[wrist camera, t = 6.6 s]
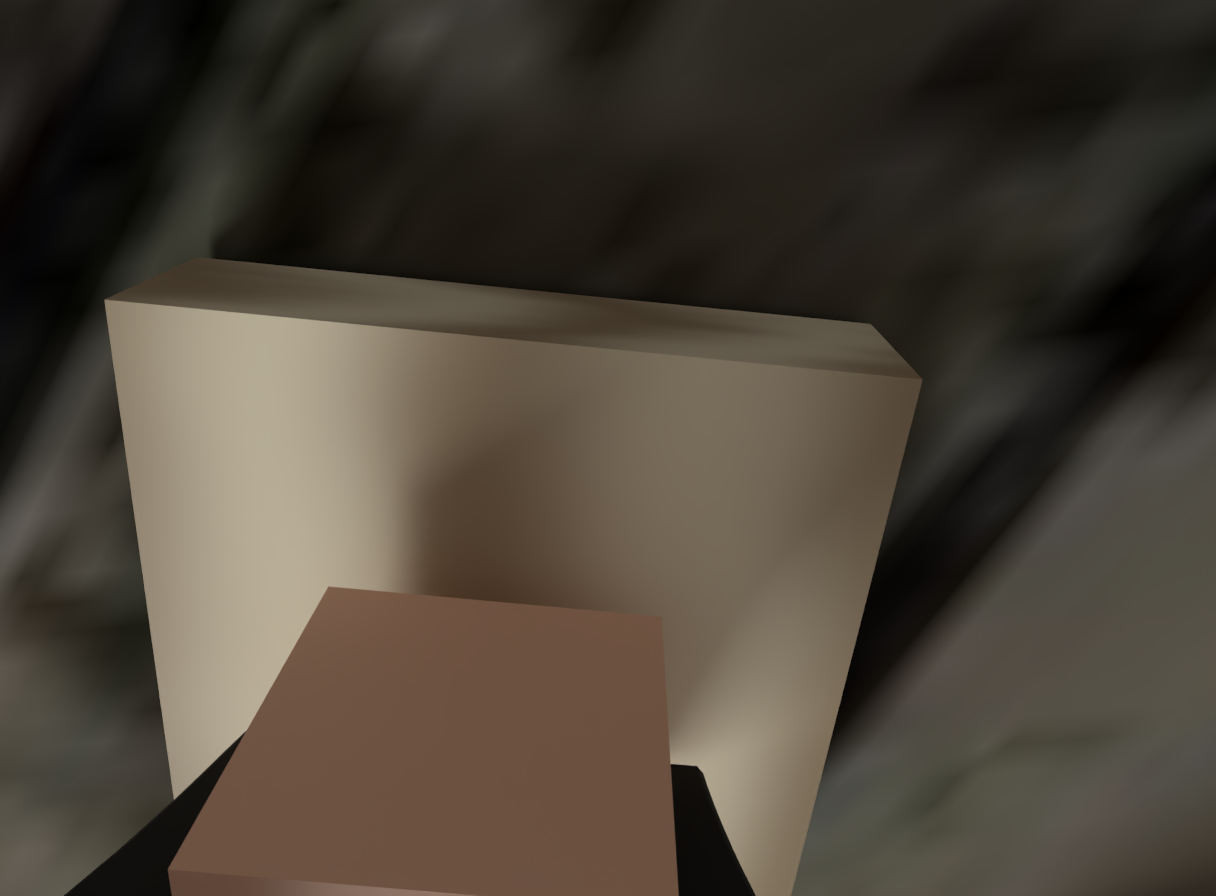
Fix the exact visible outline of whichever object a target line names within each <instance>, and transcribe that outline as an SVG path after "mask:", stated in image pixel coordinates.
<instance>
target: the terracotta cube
mask: <svg viewBox="0 0 1216 896" xmlns="http://www.w3.org/2000/svg"><path fill="white" fill-rule="evenodd" d="M168 874H169V881H170V887H171V894H172V896H679V893H678V876H677V860H676V844H675V827H674V811H673V795H672V778H671V762H670V746H669V729H668V713H667V697H666V680H665V664H664V648H663V631H662V617H659V616H648V615H637V614H626V613H615V612H604V611H593V610H583V609H572V608H561V607H550V606H539V605H528V604H517V603H506V602H495V601H484V600H473V599H462V598H451V597H440V596H429V595H418V594H407V593H396V592H385V591H374V590H363V589H352V588H341V587H330V586H328V588H327V590H326V591H325V593H324V595H323V597H322V599H321V600H320V602H319V604H318V606H317V607H316V609H315V611H314V613H313V614H312V616H311V618H310V620H309V621H308V623H307V625H306V627H305V628H304V630H303V632H302V634H301V636H300V637H299V639H298V641H297V643H296V644H295V646H294V648H293V650H292V651H291V653H290V655H289V657H288V658H287V660H286V662H285V664H284V665H283V667H282V669H281V671H280V673H279V674H278V676H277V678H276V680H275V681H274V683H273V685H272V687H271V688H270V690H269V692H268V694H267V695H266V697H265V699H264V701H263V702H262V704H261V706H260V708H259V710H258V711H257V713H256V715H255V717H254V718H253V720H252V722H251V724H250V725H249V727H248V729H247V731H246V732H245V734H244V736H243V738H242V739H241V741H240V743H239V745H238V747H237V748H236V750H235V752H234V754H233V755H232V757H231V759H230V761H229V762H228V764H227V766H226V768H225V769H224V771H223V773H222V775H221V776H220V778H219V780H218V782H217V784H216V785H215V787H214V789H213V791H212V792H211V794H210V796H209V798H208V799H207V801H206V803H205V805H204V806H203V808H202V810H201V812H200V813H199V815H198V817H197V819H196V821H195V822H194V824H193V826H192V828H191V829H190V831H189V833H188V835H187V836H186V838H185V840H184V842H183V843H182V845H181V847H180V849H179V850H178V852H177V854H176V856H175V858H174V859H173V861H172V863H171V865H170V866H169V868H168Z"/></svg>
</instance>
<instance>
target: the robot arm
mask: <svg viewBox="0 0 1216 896" xmlns="http://www.w3.org/2000/svg"><path fill="white" fill-rule="evenodd" d="M245 732H246V731H245ZM245 732H244V733H243V734H242V735H241V736H240V737H239V738H238V739H237V740H236V741H235V742H234V743H233V744H232V745H231V746H230V747H228V748H227V749H226V750H225V751H224V752H223V753H222V754H221V755H220V756H219V757H218V758H217V759H216V760H215V761H214V762H213V763H212V764H211V765H210V766H209V767H208V768H207V769H206V770H205V771H204V772H203V773H202V774H201V775H200V776H199V777H198V778H197V779H195V780H194V781H193V782H192V783H191V784H190V785H189V786H188V787H187V788H186V789H185V790H184V791H183V792H182V793H181V794H180V795H179V796H178V797H177V798H175V799H174V800H173V801H172V802H171V803H170V804H169V805H168V806H167V807H166V808H165V809H163V810H162V811H161V812H160V813H159V814H158V815H157V816H156V817H155V818H154V819H152V820H151V821H150V822H149V823H148V824H147V825H146V826H145V827H144V828H143V829H141V830H140V831H139V832H138V833H137V834H136V835H135V836H134V837H133V838H132V839H130V840H129V841H128V842H127V843H126V844H125V845H124V846H122V847H121V848H120V849H119V850H118V851H117V852H116V853H114V854H113V855H112V856H111V857H110V858H108V859H107V860H106V861H105V862H104V863H102V864H101V865H100V866H99V867H98V868H96V869H95V870H94V871H93V872H92V873H90V874H89V875H88V876H87V877H86V878H84V879H83V880H82V881H81V882H80V883H78V884H77V885H76V886H75V887H74V888H73V889H71V890H70V891H69V892H68V893H67V894H65V895H64V896H172V894H171V887H170V881H169V874H168V868H169V866H170V865H171V863H172V861H173V859H174V858H175V856H176V854H177V852H178V850H179V849H180V847H181V845H182V843H183V842H184V840H185V838H186V836H187V835H188V833H189V831H190V829H191V828H192V826H193V824H194V822H195V821H196V819H197V817H198V815H199V813H200V812H201V810H202V808H203V806H204V805H205V803H206V801H207V799H208V798H209V796H210V794H211V792H212V791H213V789H214V787H215V785H216V784H217V782H218V780H219V778H220V776H221V775H222V773H223V771H224V769H225V768H226V766H227V764H228V762H229V761H230V759H231V757H232V755H233V754H234V752H235V750H236V748H237V747H238V745H239V743H240V741H241V739H242V738H243V736H244V734H245ZM671 778H672V795H673V811H674V827H675V844H676V860H677V876H678V893H679V896H756V895H755V893H754V891H753V889H752V887H751V885H750V883H749V881H748V879H747V877H746V875H745V873H744V871H743V869H742V867H741V865H740V863H739V861H738V859H737V856H736V854H735V852H734V850H733V848H732V845H731V843H730V841H729V839H728V836H727V834H726V832H725V829H724V827H723V825H722V822H721V820H720V818H719V815H718V813H717V810H716V808H715V805H714V802H713V800H712V797H711V794H710V792H709V789H708V786H707V783H706V780H705V777H704V774H703V772H702V771H701V770H700V769H699V768H698V767H697V766H690V765H679V764H671Z"/></svg>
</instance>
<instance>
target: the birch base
mask: <svg viewBox="0 0 1216 896" xmlns="http://www.w3.org/2000/svg"><path fill="white" fill-rule="evenodd" d="M105 307H106V314H107V321H108V329H109V336H110V343H111V350H112V357H113V364H114V372H115V379H116V386H117V393H118V400H119V408H120V415H121V422H122V429H123V436H124V443H125V451H126V458H127V465H128V472H129V479H130V486H131V494H132V501H133V508H134V515H135V522H136V530H137V537H138V544H139V551H140V558H141V565H142V573H143V580H144V587H145V594H146V601H147V609H148V616H149V623H150V630H151V637H152V644H153V652H154V659H155V666H156V673H157V680H158V687H159V695H160V702H161V709H162V716H163V723H164V731H165V738H166V745H167V752H168V759H169V766H170V774H171V781H172V788H173V795H174V799H175V798H177V797H178V796H179V795H180V794H181V793H182V792H183V791H184V790H185V789H186V788H187V787H188V786H189V785H190V784H191V783H192V782H193V781H194V780H195V779H197V778H198V777H199V776H200V775H201V774H202V773H203V772H204V771H205V770H206V769H207V768H208V767H209V766H210V765H211V764H212V763H213V762H214V761H215V760H216V759H217V758H218V757H219V756H220V755H221V754H222V753H223V752H224V751H225V750H226V749H227V748H228V747H230V746H231V745H232V744H233V743H234V742H235V741H236V740H237V739H238V738H239V737H240V736H241V735H242V734H243V733H244V732H245V731H247V729H248V727H249V725H250V724H251V722H252V720H253V718H254V717H255V715H256V713H257V711H258V710H259V708H260V706H261V704H262V702H263V701H264V699H265V697H266V695H267V694H268V692H269V690H270V688H271V687H272V685H273V683H274V681H275V680H276V678H277V676H278V674H279V673H280V671H281V669H282V667H283V665H284V664H285V662H286V660H287V658H288V657H289V655H290V653H291V651H292V650H293V648H294V646H295V644H296V643H297V641H298V639H299V637H300V636H301V634H302V632H303V630H304V628H305V627H306V625H307V623H308V621H309V620H310V618H311V616H312V614H313V613H314V611H315V609H316V607H317V606H318V604H319V602H320V600H321V599H322V597H323V595H324V593H325V591H326V590H327V588H328V586H330V587H341V588H352V589H363V590H374V591H385V592H396V593H407V594H418V595H429V596H440V597H451V598H462V599H473V600H484V601H495V602H506V603H517V604H528V605H539V606H550V607H561V608H572V609H583V610H593V611H604V612H615V613H626V614H637V615H648V616H659V617H662V631H663V648H664V664H665V680H666V697H667V713H668V729H669V746H670V762H671V764H679V765H690V766H697V767H698V768H699V769H700V770H701V771H702V772H703V774H704V777H705V780H706V783H707V786H708V789H709V792H710V794H711V797H712V800H713V802H714V805H715V808H716V810H717V813H718V815H719V818H720V820H721V822H722V825H723V827H724V829H725V832H726V834H727V836H728V839H729V841H730V843H731V845H732V848H733V850H734V852H735V854H736V856H737V859H738V861H739V863H740V865H741V867H742V869H743V871H744V873H745V875H746V877H747V879H748V881H749V883H750V885H751V887H752V889H753V891H754V893H755V895H756V896H791V893H792V889H793V885H794V881H795V877H796V873H797V870H798V866H799V862H800V858H801V854H802V850H803V846H804V842H805V838H806V834H807V830H808V826H809V823H810V819H811V815H812V811H813V807H814V803H815V799H816V795H817V791H818V787H819V783H820V780H821V776H822V772H823V768H824V764H825V760H826V756H827V752H828V748H829V744H830V740H831V736H832V733H833V729H834V725H835V721H836V717H837V713H838V709H839V705H840V701H841V697H842V693H843V690H844V686H845V682H846V678H847V674H848V670H849V666H850V662H851V658H852V654H853V650H854V646H855V643H856V639H857V635H858V631H859V627H860V623H861V619H862V615H863V611H864V607H865V603H866V600H867V596H868V592H869V588H870V584H871V580H872V576H873V572H874V568H875V564H876V560H877V556H878V553H879V549H880V545H881V541H882V537H883V533H884V529H885V525H886V521H887V517H888V513H889V510H890V506H891V502H892V498H893V494H894V490H895V486H896V482H897V478H898V474H899V470H900V467H901V463H902V459H903V455H904V451H905V447H906V443H907V439H908V435H909V431H910V427H911V423H912V420H913V416H914V412H915V408H916V404H917V400H918V396H919V392H920V388H921V384H922V380H923V379H922V378H921V377H920V376H919V375H918V374H917V373H916V372H915V371H914V370H913V369H912V368H911V366H910V365H909V364H908V363H907V362H906V361H905V360H904V359H903V358H902V357H901V356H900V355H899V354H898V353H897V351H896V350H895V349H894V348H893V347H892V346H891V345H890V344H889V343H888V342H887V341H886V340H885V339H884V338H883V336H882V335H881V334H880V333H879V332H878V331H877V330H876V329H875V328H874V327H873V326H872V325H871V324H867V323H857V322H847V321H837V320H827V319H817V318H807V317H796V316H786V315H776V314H766V313H756V312H746V311H736V310H726V309H716V308H705V307H695V306H685V305H675V304H665V303H655V302H645V301H635V300H625V299H614V298H604V297H594V296H584V295H574V294H564V293H554V292H544V291H534V290H523V289H513V288H503V287H493V286H483V285H473V284H463V283H453V282H443V281H432V280H422V279H412V278H402V277H392V276H382V275H372V274H362V273H352V272H342V271H331V270H321V269H311V268H301V267H291V266H281V265H271V264H261V263H251V262H240V261H230V260H220V259H210V258H200V257H196V258H194V259H192V260H190V261H188V262H185V263H183V264H181V265H179V266H177V267H175V268H172V269H170V270H168V271H166V272H164V273H161V274H159V275H157V276H155V277H153V278H151V279H148V280H146V281H144V282H142V283H140V284H138V285H135V286H133V287H131V288H129V289H127V290H124V291H122V292H120V293H118V294H116V295H114V296H111V297H109V298H107V299H105Z"/></svg>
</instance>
